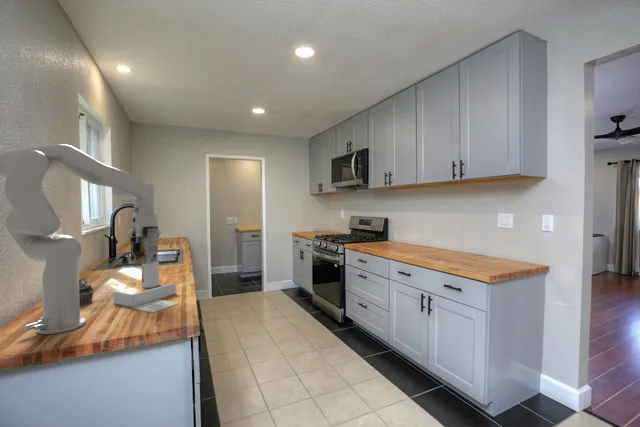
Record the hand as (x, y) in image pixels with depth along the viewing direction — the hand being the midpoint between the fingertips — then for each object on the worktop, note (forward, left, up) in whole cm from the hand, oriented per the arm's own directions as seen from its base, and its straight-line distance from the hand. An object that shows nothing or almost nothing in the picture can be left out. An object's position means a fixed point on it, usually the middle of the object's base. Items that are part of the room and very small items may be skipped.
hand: (144, 250), depth 136 cm
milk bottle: (+15, +16, -22) cm, 31 cm away
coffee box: (0, 0, -6) cm, 6 cm away
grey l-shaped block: (0, 0, -21) cm, 21 cm away
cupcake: (-15, +20, -22) cm, 33 cm away
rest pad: (-5, -14, -21) cm, 26 cm away
